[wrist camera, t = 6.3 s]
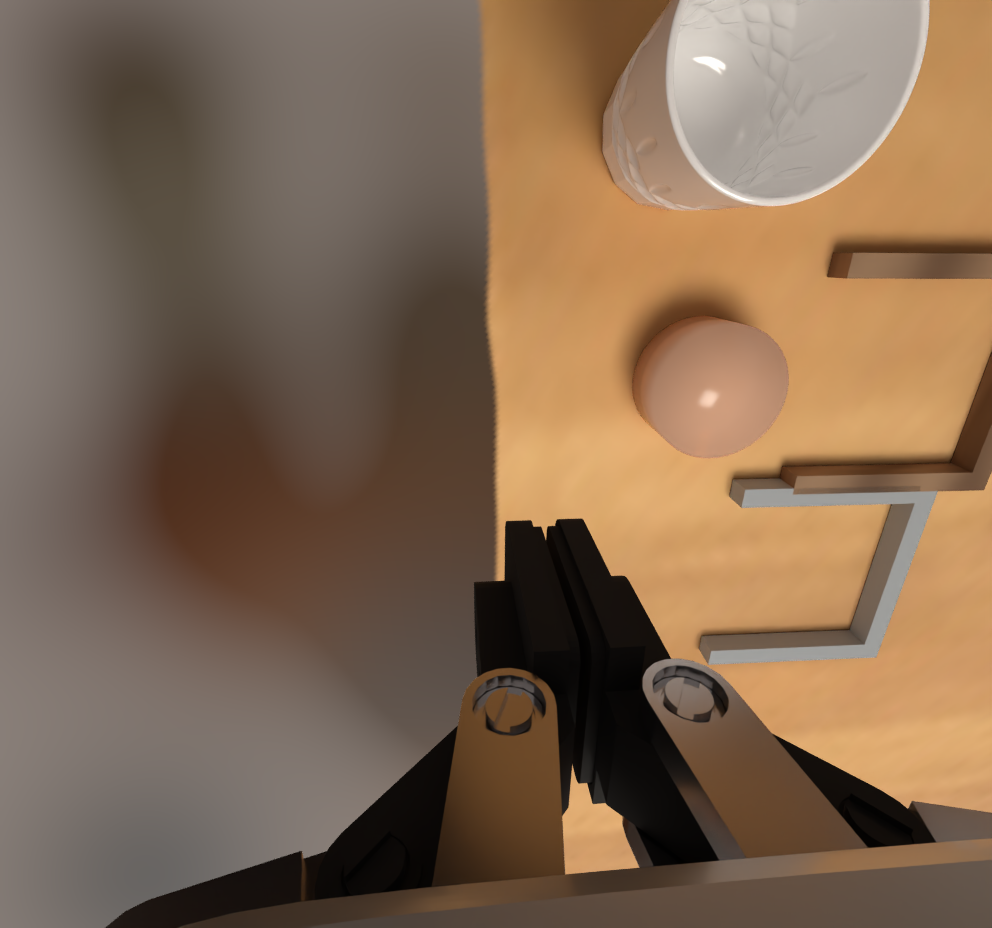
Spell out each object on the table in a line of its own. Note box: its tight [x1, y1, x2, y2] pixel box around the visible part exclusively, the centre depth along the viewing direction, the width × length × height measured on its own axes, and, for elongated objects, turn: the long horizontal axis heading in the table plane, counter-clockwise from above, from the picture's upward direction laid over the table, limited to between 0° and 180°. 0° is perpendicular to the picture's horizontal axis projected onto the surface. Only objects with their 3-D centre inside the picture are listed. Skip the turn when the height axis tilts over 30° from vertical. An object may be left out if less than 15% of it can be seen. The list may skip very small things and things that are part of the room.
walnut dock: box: [780, 253, 992, 495], centre depth 29 cm, size 12×13×2 cm
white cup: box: [602, 0, 930, 210], centre depth 20 cm, size 8×8×10 cm
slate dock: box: [699, 478, 938, 665], centre depth 34 cm, size 12×13×2 cm
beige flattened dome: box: [632, 316, 789, 458], centre depth 28 cm, size 7×7×4 cm
